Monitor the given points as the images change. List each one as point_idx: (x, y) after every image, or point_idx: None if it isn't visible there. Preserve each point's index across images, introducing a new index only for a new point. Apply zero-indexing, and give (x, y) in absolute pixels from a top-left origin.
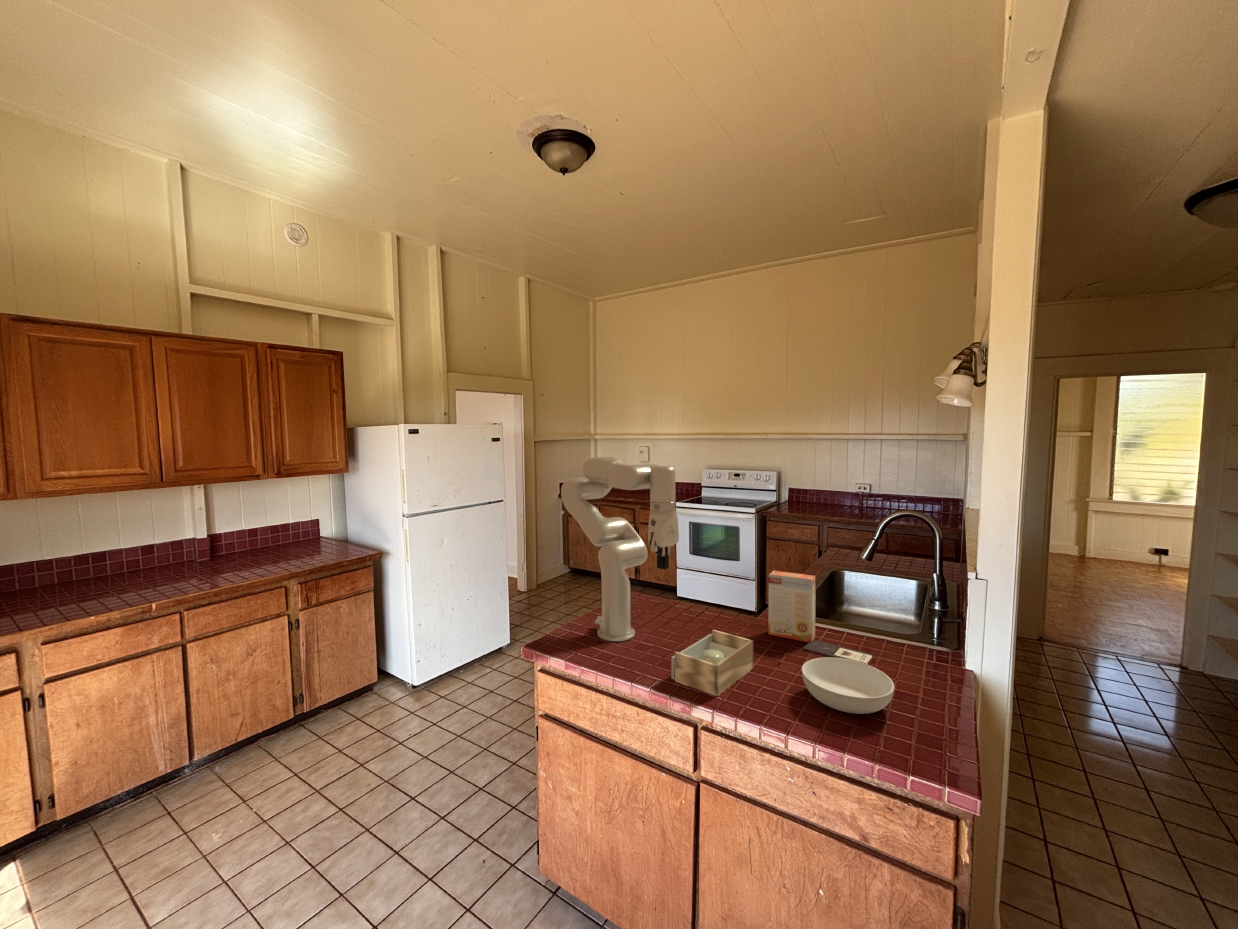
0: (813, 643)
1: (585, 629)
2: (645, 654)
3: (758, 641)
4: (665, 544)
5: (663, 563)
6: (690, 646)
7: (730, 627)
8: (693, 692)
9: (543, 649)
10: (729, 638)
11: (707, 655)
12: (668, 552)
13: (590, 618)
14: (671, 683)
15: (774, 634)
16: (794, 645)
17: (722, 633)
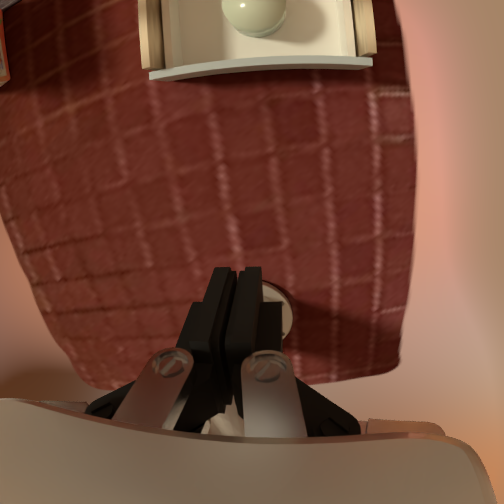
0: (4, 3)
1: None
2: (287, 199)
3: (43, 65)
4: (353, 474)
5: (260, 312)
6: (272, 61)
7: (30, 157)
8: None
9: (393, 355)
10: (150, 14)
11: (273, 6)
12: (172, 371)
13: None
14: None
15: (7, 68)
16: (22, 16)
17: (147, 33)
